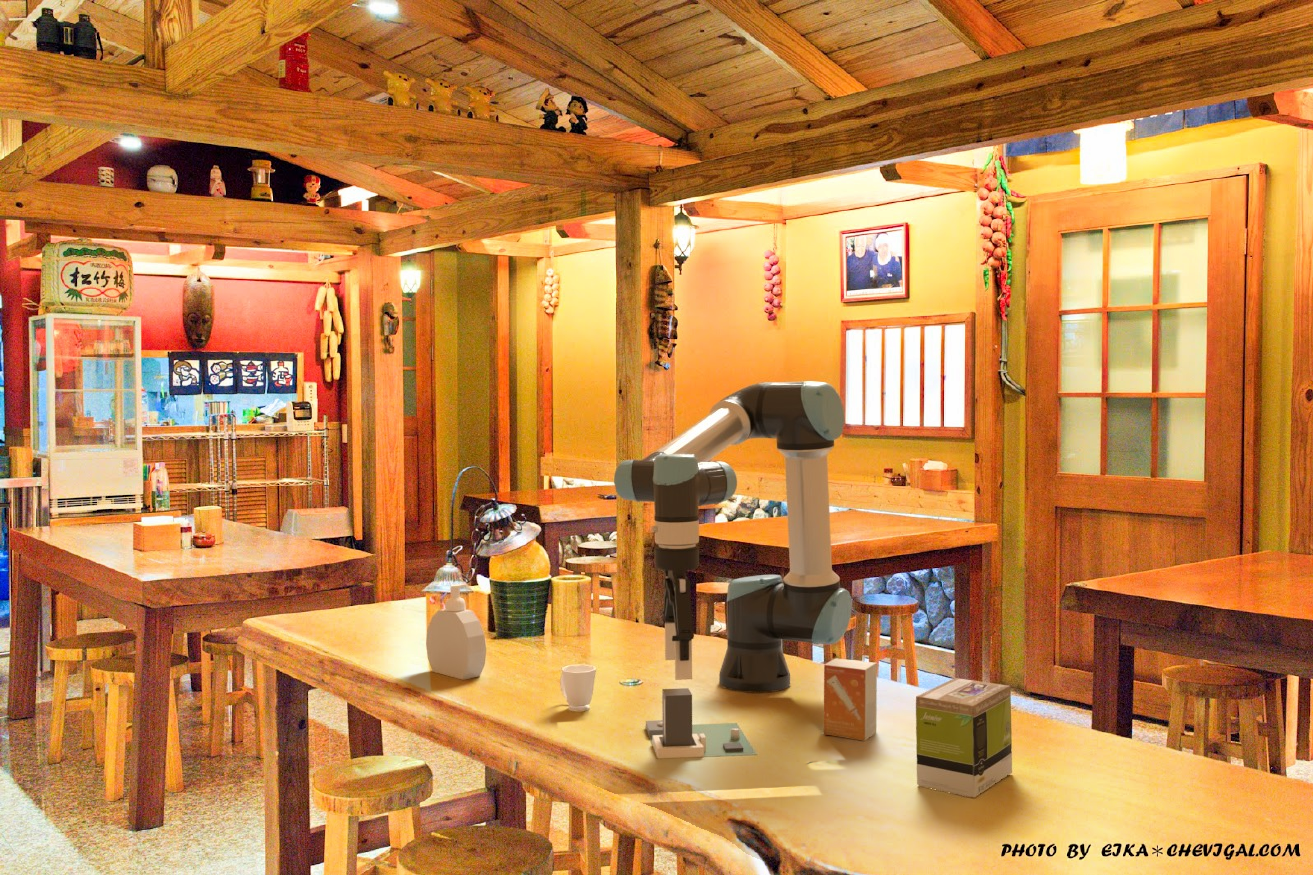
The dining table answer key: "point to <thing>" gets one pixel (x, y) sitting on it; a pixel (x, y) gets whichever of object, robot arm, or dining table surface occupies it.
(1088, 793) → the dining table surface
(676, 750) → the frame
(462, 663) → the soap bottle
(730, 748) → the board
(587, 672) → the cup
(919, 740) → the tea box
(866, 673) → the small box
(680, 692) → the plug
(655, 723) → the grey push button
